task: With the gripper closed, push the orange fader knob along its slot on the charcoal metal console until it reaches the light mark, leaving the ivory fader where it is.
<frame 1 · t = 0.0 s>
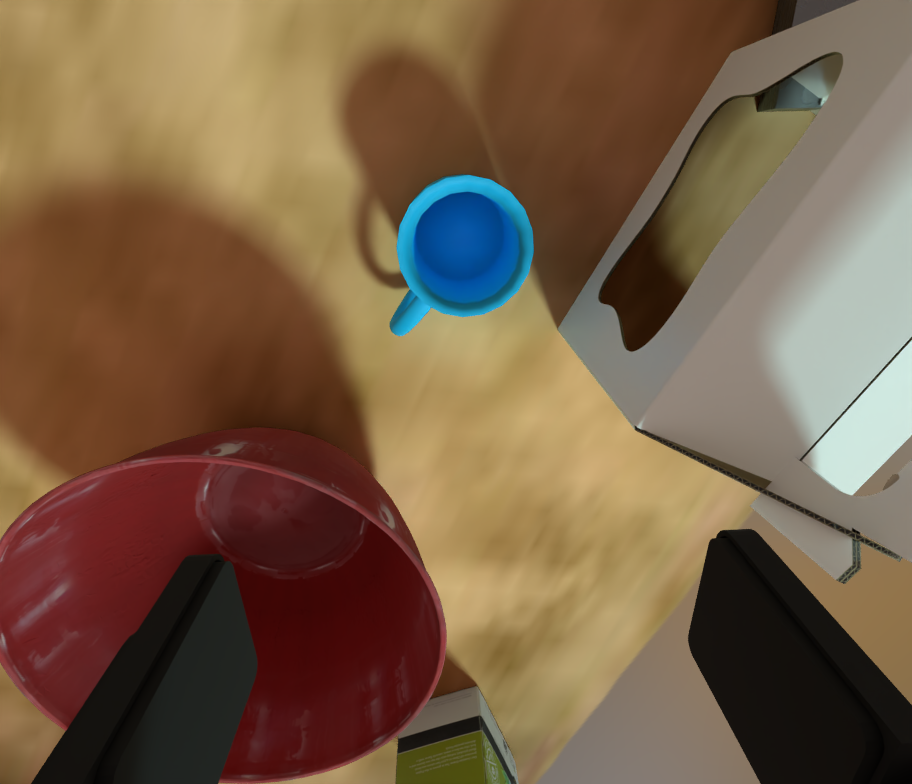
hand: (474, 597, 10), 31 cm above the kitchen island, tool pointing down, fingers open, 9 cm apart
mug: (443, 254, 38), on the kitchen island
mixing bowl: (289, 503, 46), on the kitchen island
tea box: (459, 730, 60), on the kitchen island
gable box: (701, 245, 39), on the kitchen island, touching console
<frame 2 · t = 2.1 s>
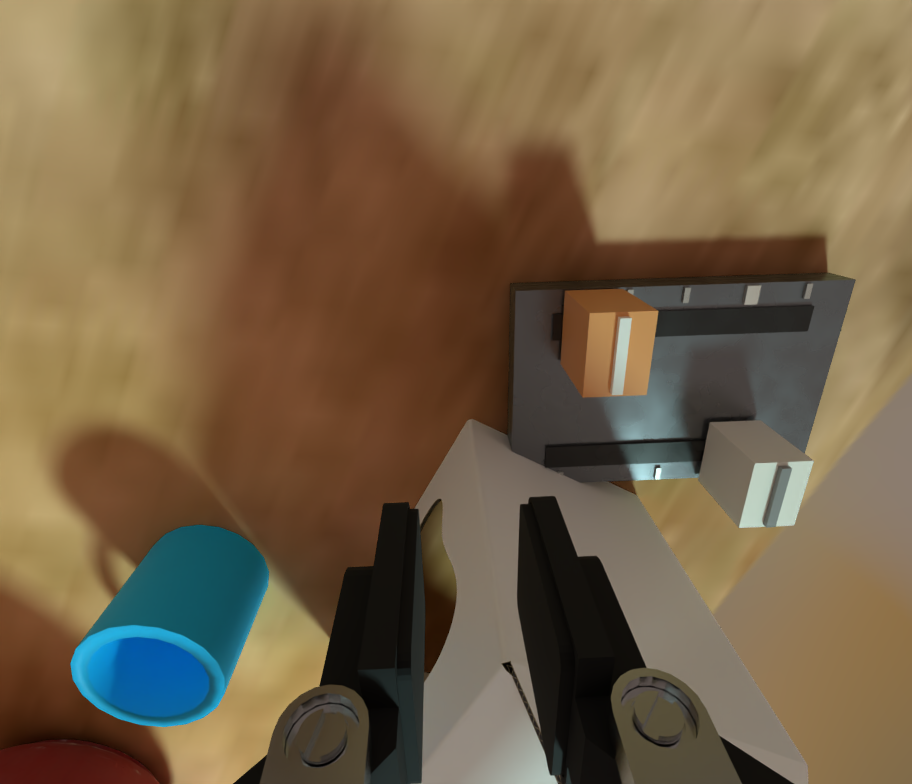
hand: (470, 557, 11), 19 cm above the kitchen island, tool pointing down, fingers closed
fader orange: (604, 341, 24), point 5 cm above the kitchen island, slide at 1.0 cm
mug: (198, 586, 36), on the kitchen island
mixing bowl: (84, 783, 44), on the kitchen island
console: (656, 377, 30), on the kitchen island
fader ivory: (751, 473, 28), point 5 cm above the kitchen island, slide at 10.0 cm
gable box: (476, 568, 37), on the kitchen island, touching console
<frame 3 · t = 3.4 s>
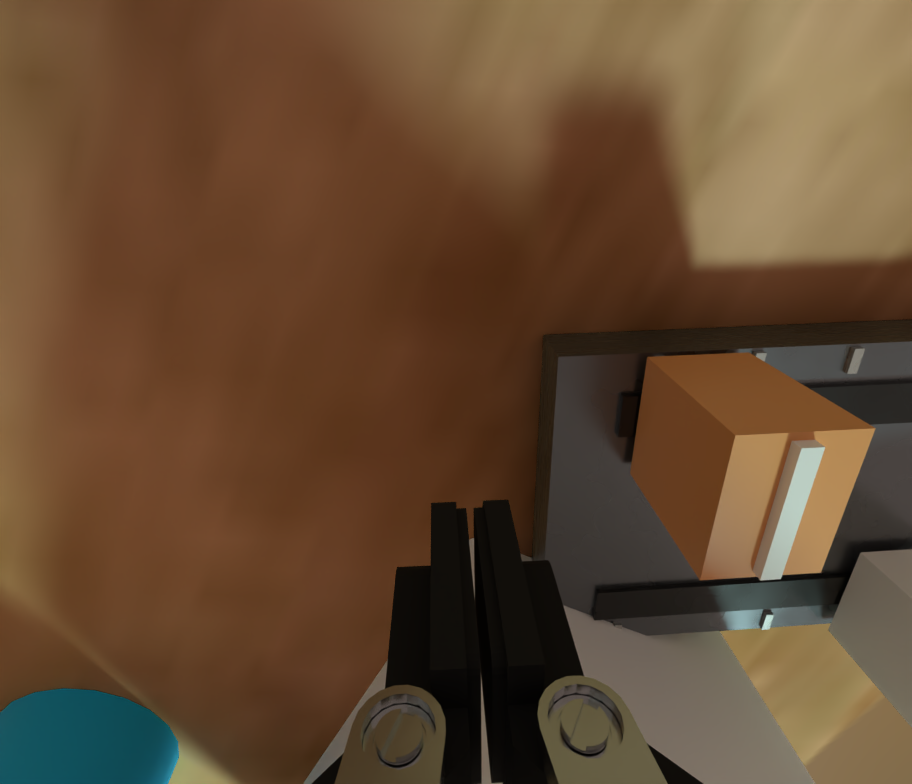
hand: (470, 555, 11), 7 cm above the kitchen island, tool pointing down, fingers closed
fader orange: (729, 458, 13), point 5 cm above the kitchen island, slide at 1.0 cm
mug: (76, 759, 25), on the kitchen island
console: (767, 473, 19), on the kitchen island
gable box: (480, 720, 26), on the kitchen island, touching console
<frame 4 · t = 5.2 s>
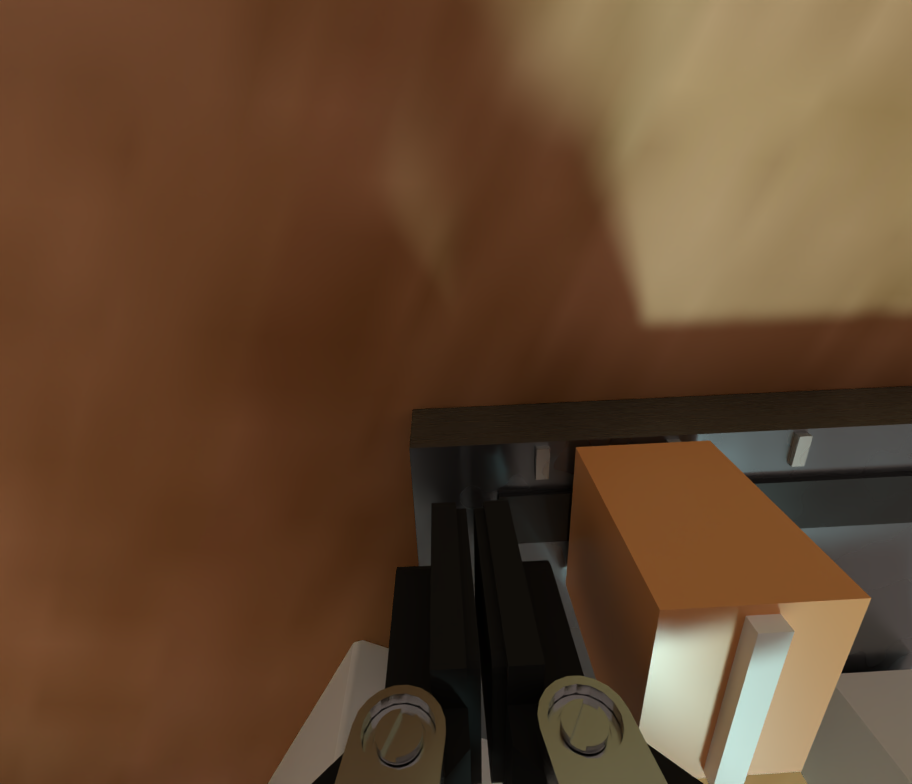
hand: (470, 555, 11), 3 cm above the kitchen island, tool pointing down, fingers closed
fader orange: (678, 595, 10), point 5 cm above the kitchen island, slide at 2.2 cm, touching gripper
console: (712, 568, 16), on the kitchen island
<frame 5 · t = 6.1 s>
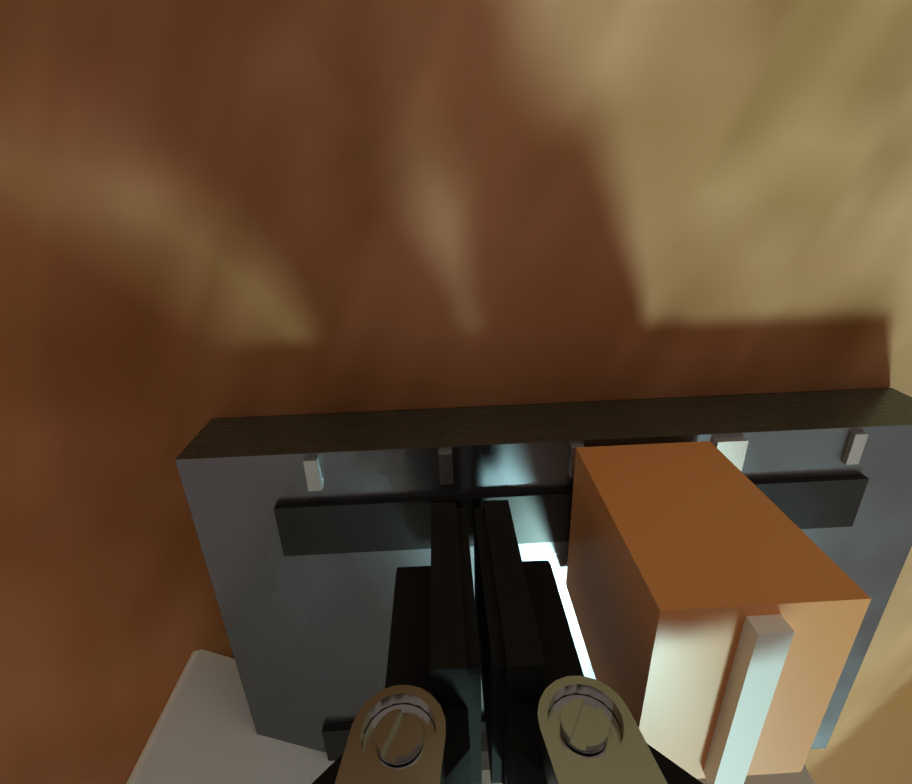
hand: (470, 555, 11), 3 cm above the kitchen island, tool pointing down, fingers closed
fader orange: (678, 595, 10), point 5 cm above the kitchen island, slide at 7.4 cm, touching gripper
console: (547, 577, 16), on the kitchen island
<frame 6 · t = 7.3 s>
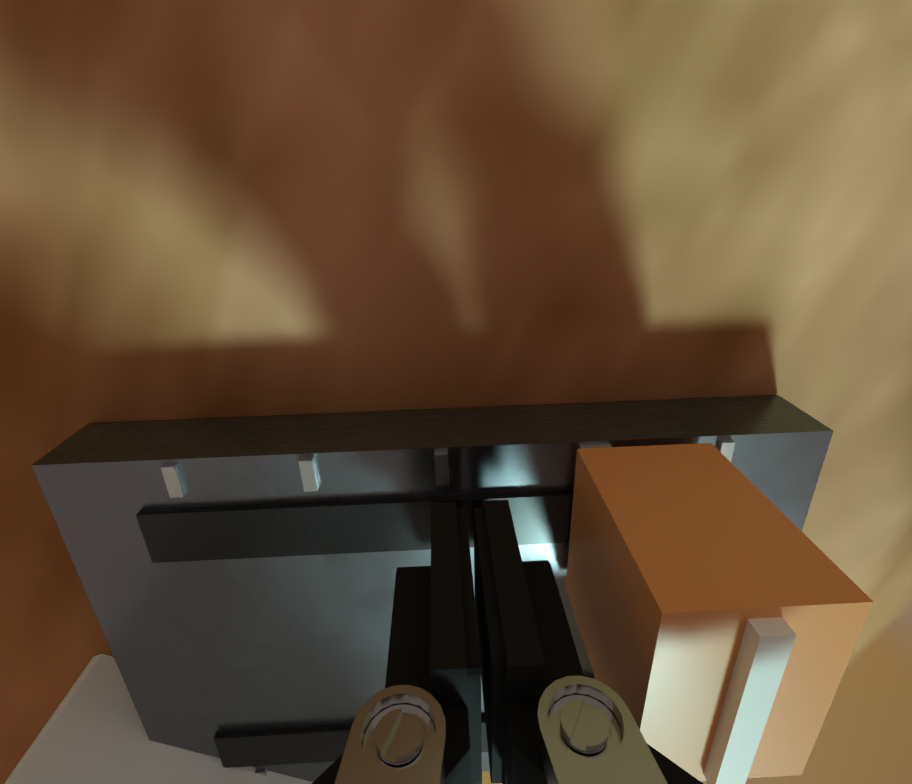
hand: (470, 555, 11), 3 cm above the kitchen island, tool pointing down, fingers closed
fader orange: (678, 597, 10), point 5 cm above the kitchen island, slide at 10.5 cm, touching gripper
console: (447, 583, 16), on the kitchen island
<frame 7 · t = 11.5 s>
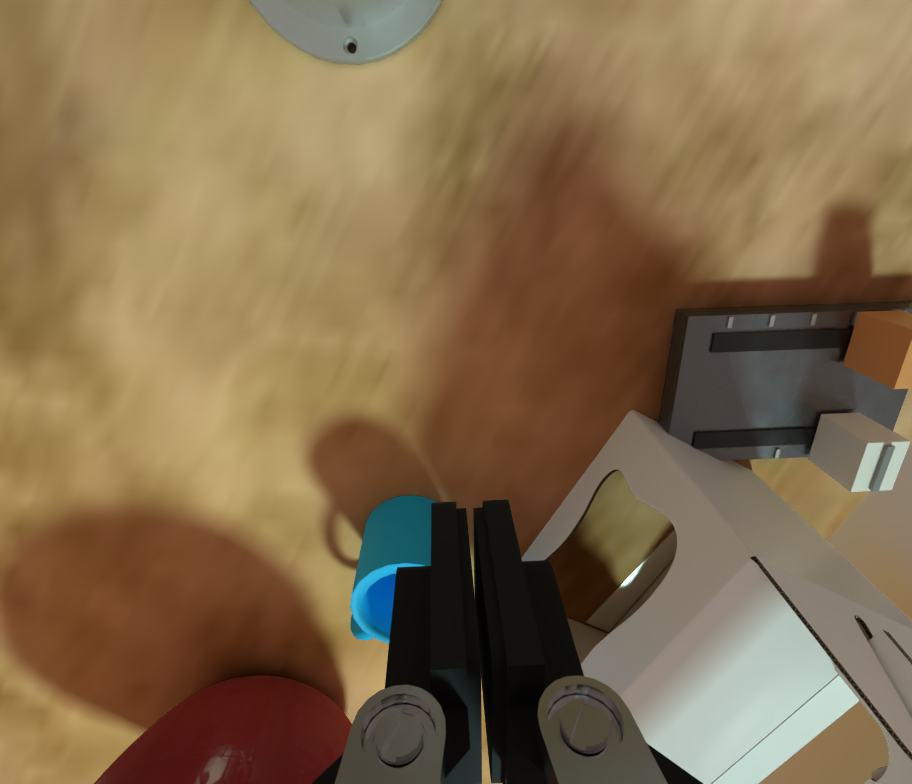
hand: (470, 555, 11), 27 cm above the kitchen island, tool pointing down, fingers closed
fader orange: (899, 348, 34), point 5 cm above the kitchen island, slide at 10.5 cm
mug: (398, 545, 45), on the kitchen island
mixing bowl: (272, 715, 54), on the kitchen island
console: (776, 379, 40), on the kitchen island
fader ivory: (856, 451, 37), point 5 cm above the kitchen island, slide at 10.0 cm
gable box: (616, 530, 46), on the kitchen island, touching console
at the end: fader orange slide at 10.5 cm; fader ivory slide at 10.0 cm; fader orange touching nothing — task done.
